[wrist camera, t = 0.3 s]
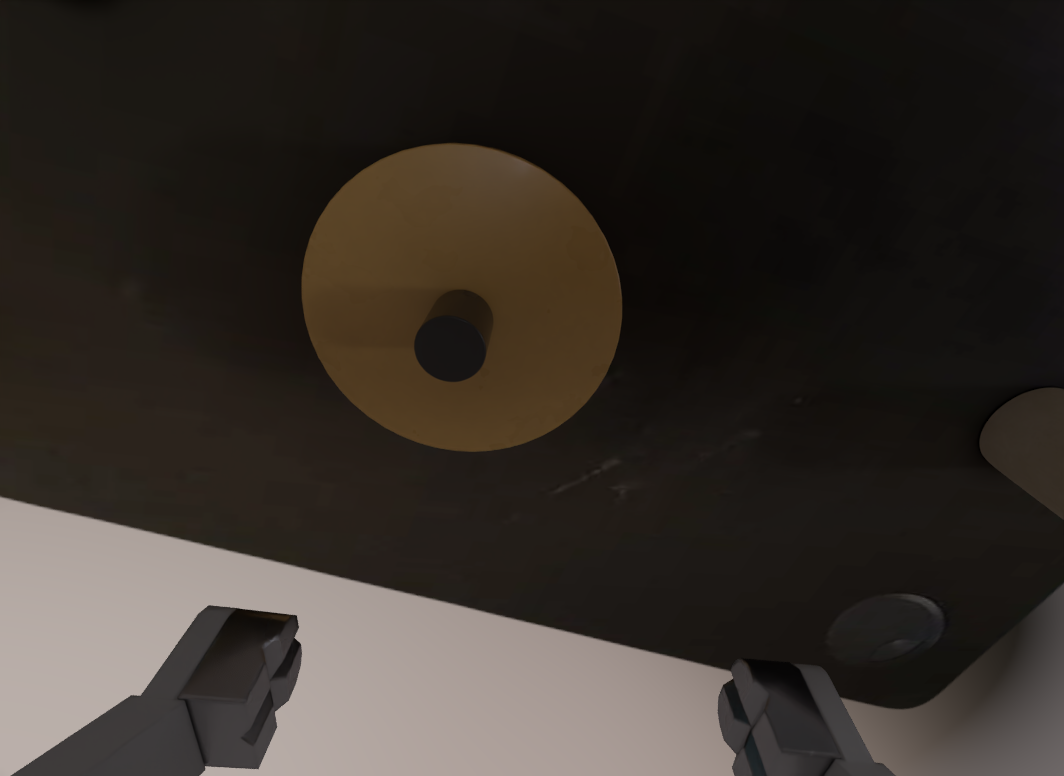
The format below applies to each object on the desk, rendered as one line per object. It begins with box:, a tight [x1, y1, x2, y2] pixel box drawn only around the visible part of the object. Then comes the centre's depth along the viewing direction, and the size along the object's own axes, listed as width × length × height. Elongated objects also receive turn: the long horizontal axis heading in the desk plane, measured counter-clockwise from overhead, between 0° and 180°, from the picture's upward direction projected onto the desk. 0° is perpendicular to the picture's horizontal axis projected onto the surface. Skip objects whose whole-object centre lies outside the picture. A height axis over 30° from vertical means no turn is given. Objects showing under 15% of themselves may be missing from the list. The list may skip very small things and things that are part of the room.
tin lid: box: [302, 143, 622, 452], centre depth 19 cm, size 12×12×4 cm
